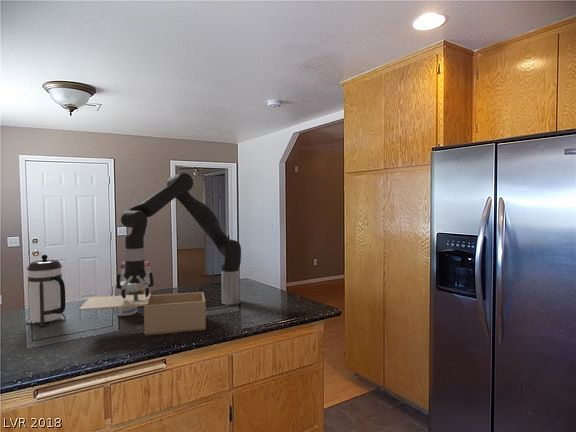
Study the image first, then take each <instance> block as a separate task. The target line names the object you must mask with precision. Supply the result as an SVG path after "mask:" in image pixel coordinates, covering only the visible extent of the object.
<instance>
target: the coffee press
mask: <svg viewBox="0 0 576 432" xmlns="http://www.w3.org/2000/svg"><path fill="white" fill-rule="evenodd" d="M62 268H63V265H62V264H61V262H60V261H58V260H56V259H48V254H43V255H42V256H41V259H39V260H35V261H32V262H30V263H29V264H28V265H27V268H26V270H27V273H28V274H27V281H28V282H27V284H28V285H27V287H28V288H27V290H28V292H27V293H28V294H27V295H28V319H27V320H26V321H25V323H26V324H27V325H30V324H31V323H39V327H40V328H45V324H46V323H48V322H53V321H56V320H61V321H63V322H64V321H65V320H67V317H66V316H65V315H64V312H65V310H66V286H65V282H64V279H63V274H62ZM62 317H63V318H64V319H63V318H62ZM28 320H30V322H28Z"/></svg>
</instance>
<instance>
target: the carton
mask: <svg viewBox="0 0 576 432" xmlns="http://www.w3.org/2000/svg"><path fill="white" fill-rule="evenodd" d="M206 305H207V303H206V297H205V293H204V292H203V291H199V292H196V291H195V292H184V293H168V294H153V295H152V294H151V296H150V299H149V302H148V305H147V306H143V318H144V319H143V321H144V322H143V325H144V326H143V329H144V333H143V334H144V336H152V335H153V336H154V335H164V334H175V333H184V332H185V333H186V332H196V331H206V330H207V327H206V326H207V325H206V324H207V322H206V319H207V318H206V316H207V315H206V311H207V310H206V307H207V306H206Z"/></svg>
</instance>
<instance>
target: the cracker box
mask: <svg viewBox="0 0 576 432" xmlns="http://www.w3.org/2000/svg"><path fill="white" fill-rule="evenodd" d="M151 269H152V268H151V261H150V260H149V261H148V260H147V261H145V272H146V273H147V272H151V271H152V270H151ZM120 273H121V274H125V261H122V262H120ZM144 279H145V280H146V282H147V283H148V284H150V277H148V276H147V275H146V276H145V277H144ZM123 281H127V279H126V278H125V277H124V276H123V278H122V279H121V282H123ZM136 288H137V291H142V294H145V288H146V287H145V286H144V285H143V284H142V283H141V282H140V283H136ZM149 294H151V295H152V287H149Z"/></svg>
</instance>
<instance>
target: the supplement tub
mask: <svg viewBox="0 0 576 432" xmlns="http://www.w3.org/2000/svg"><path fill="white" fill-rule="evenodd" d="M125 282H126V281H123V282H121V283H120V285H122V286H123V285H124V283H125ZM125 289H126V295H129V291H137V288H136V283H133V284H131V283H128V285H127V286H126V287H125ZM114 296H122V295H121V289H119V288H118V289H117V288H116V283H114ZM114 309H115V311H114V312H115V315H116V316H119V317H129V316H132V315H135V314H136V313H137V312H138V306H135V307H121V308H114Z"/></svg>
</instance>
